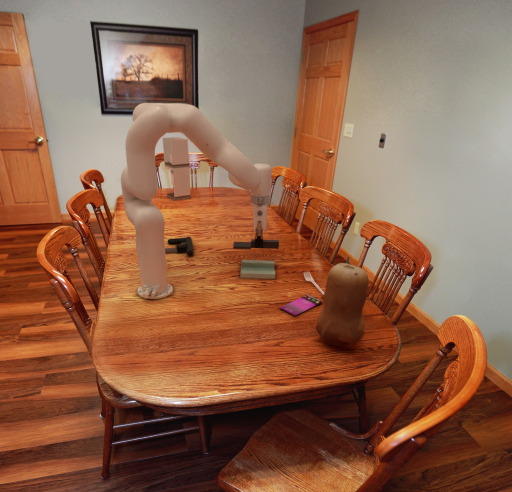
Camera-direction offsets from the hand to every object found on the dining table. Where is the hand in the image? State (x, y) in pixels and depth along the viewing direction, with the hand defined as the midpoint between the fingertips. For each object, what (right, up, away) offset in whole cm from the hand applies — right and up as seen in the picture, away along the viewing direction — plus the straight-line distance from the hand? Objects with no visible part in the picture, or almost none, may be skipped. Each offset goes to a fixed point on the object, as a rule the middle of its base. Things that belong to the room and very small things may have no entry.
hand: (258, 246), depth 160 cm
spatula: (0, 0, 0) cm, 0 cm away
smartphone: (+15, -26, -18) cm, 35 cm away
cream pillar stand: (-52, +55, +103) cm, 128 cm away
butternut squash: (+24, -38, -38) cm, 59 cm away
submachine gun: (-37, +3, +24) cm, 44 cm away
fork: (+22, -17, -4) cm, 28 cm away
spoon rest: (0, -9, +6) cm, 11 cm away
